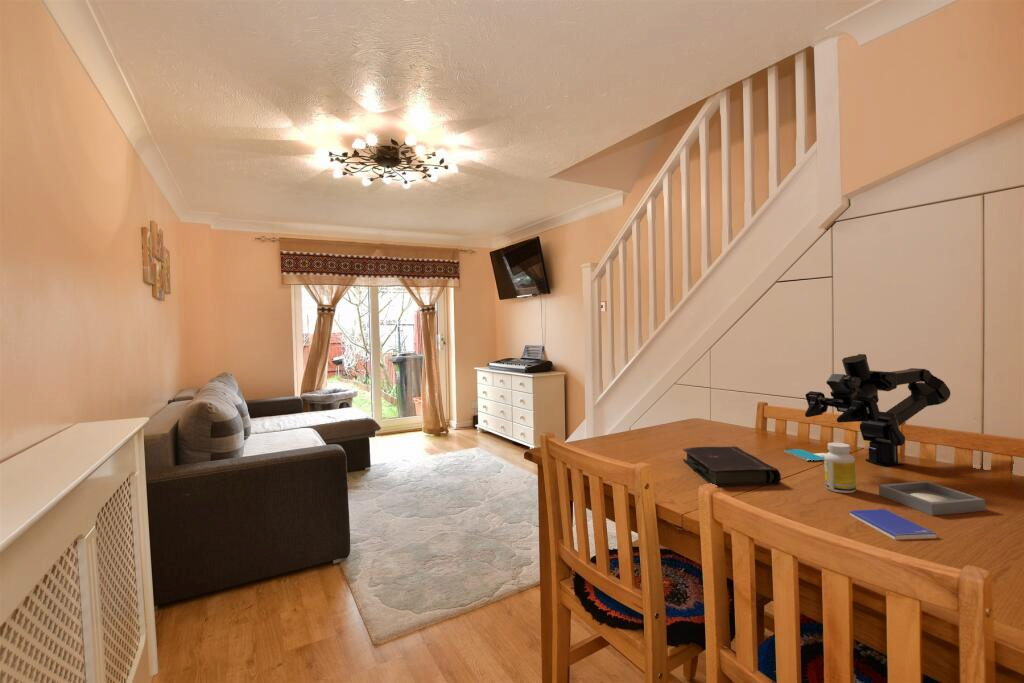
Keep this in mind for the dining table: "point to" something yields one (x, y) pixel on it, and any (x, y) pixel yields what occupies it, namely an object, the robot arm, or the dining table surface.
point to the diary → (731, 467)
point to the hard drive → (892, 524)
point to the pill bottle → (839, 468)
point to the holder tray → (932, 498)
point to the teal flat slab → (805, 455)
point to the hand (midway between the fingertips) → (821, 418)
